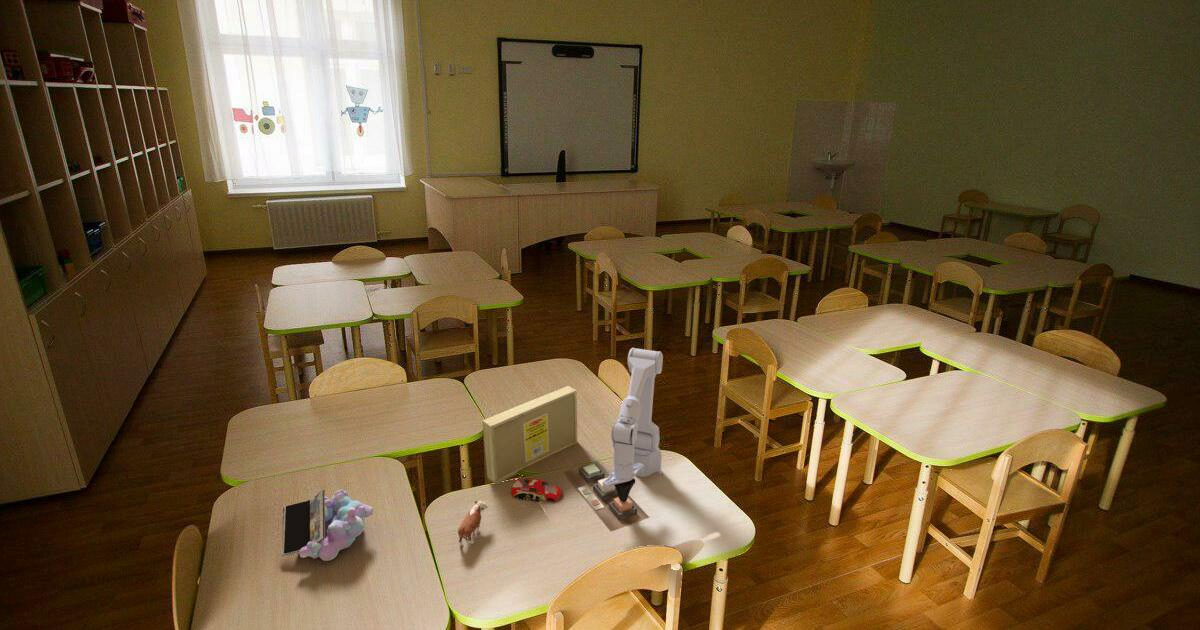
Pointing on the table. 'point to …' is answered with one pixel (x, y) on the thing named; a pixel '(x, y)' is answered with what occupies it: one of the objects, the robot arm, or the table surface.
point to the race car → (535, 490)
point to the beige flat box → (529, 433)
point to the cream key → (600, 486)
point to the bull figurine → (471, 522)
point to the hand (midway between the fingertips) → (622, 499)
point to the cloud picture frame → (322, 525)
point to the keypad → (603, 498)
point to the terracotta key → (622, 505)
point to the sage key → (591, 470)
